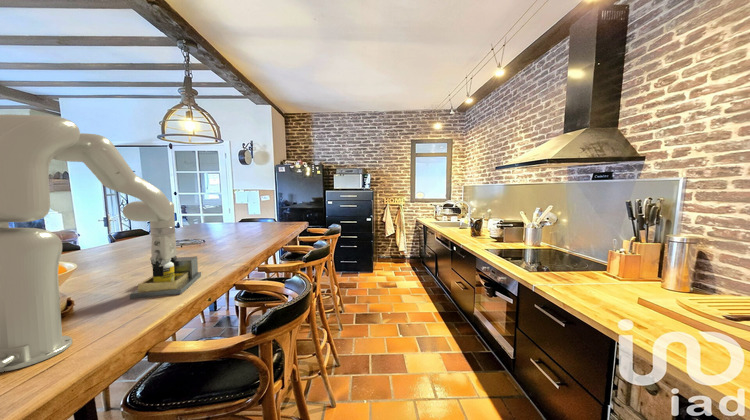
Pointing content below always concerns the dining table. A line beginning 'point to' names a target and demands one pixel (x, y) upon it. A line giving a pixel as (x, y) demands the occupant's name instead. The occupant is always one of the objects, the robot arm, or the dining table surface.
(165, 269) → the pill bottle
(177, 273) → the tray
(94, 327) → the dining table surface
